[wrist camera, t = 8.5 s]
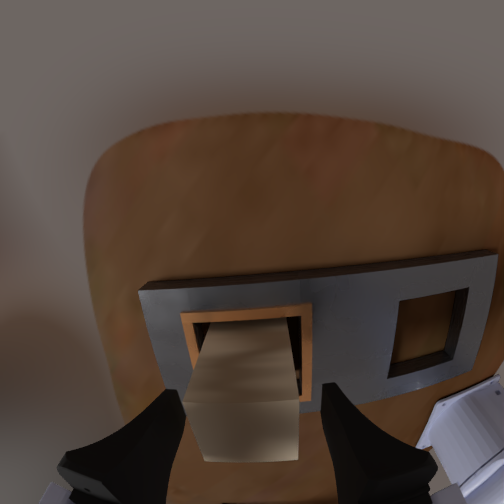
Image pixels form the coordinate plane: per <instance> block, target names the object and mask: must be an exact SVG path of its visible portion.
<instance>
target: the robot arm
mask: <svg viewBox="0 0 504 504" xmlns="http://www.w3.org/2000/svg"><path fill="white" fill-rule="evenodd" d="M499 379H500V375H499V374H497V375H495V376H493V377H491V378H490V379H488V380H486V381H483V382H481V383H479V384H477V385H475V386H473V387H471V388H468V389H466V390H464V391H462V392H459V393H457V394H454V395H452V396H450V397H447V398H444V399H442V400H439V401H438V402H437V403H436V404H435V406H434V409H433V411H432V414H431V416H430V418H429V420H428V423H427V425H426V427H425V429H424V431H423V433H422V435H421V438H420V440H419V442H418V443H417V445H416V448H415V447H412V446H410V445H408V444H406V443H403V442H401V441H400V440H398V439H396V438H394V437H392V436H391V435H389V434H387V433H386V432H384V431H383V430H381V429H380V428H379V427H377V426H376V425H375V424H374V423H372V422H371V421H370V420H369V419H368V418H367V417H365V416H364V415H363V414H362V413H361V412H360V411H359V410H358V409H357V408H356V407H355V406H354V404H353V403H352V402H351V401H350V400H349V399H348V398H347V397H346V395H345V394H344V393H343V392H342V390H341V389H340V388H339V386H338V385H337V383H335V382H331V383H324V384H322V397H321V411H320V412H321V418H322V425H323V430H324V433H325V437H326V440H327V444H328V447H329V451H330V454H331V458H332V461H333V466H334V471H335V478H336V485H337V493H338V503H339V504H504V388H503V387H502V386H501V385H500V384H499V383H498V382H499ZM185 420H186V414H185V411H184V409H183V406H182V403H181V400H180V397H179V394H178V391H177V390H176V389H165V390H164V391H163V392H162V393H161V394H160V395H159V396H158V397H157V398H156V399H155V400H154V401H153V402H152V403H151V404H150V405H149V406H148V407H147V408H146V409H145V410H144V411H143V412H141V413H140V414H139V415H138V416H137V417H136V418H134V419H133V420H132V421H131V422H129V423H128V424H127V425H125V426H124V427H123V428H121V429H120V430H118V431H116V432H115V433H113V434H111V435H110V436H108V437H106V438H104V439H102V440H100V441H98V442H96V443H93V444H90V445H88V446H85V447H82V448H79V449H76V450H71V451H67V452H66V453H65V455H64V456H63V458H62V459H61V461H60V463H59V464H58V466H57V470H58V472H59V474H60V475H61V476H62V477H63V478H64V479H65V480H66V481H67V482H68V483H69V484H70V485H71V486H72V487H73V488H74V489H73V491H72V492H71V491H69V490H68V489H66V488H64V487H62V486H60V485H58V484H56V483H54V482H51V483H50V484H49V486H48V488H47V489H46V491H45V493H44V494H43V496H42V498H41V500H40V501H39V503H38V504H166V496H167V489H168V483H169V477H170V472H171V468H172V464H173V461H174V458H175V455H176V452H177V450H178V447H179V444H180V441H181V438H182V435H183V431H184V426H185ZM431 445H432V446H433V448H434V450H435V452H436V454H437V456H438V458H439V460H440V462H441V464H442V465H443V467H444V469H445V471H446V473H447V475H448V477H449V480H450V482H451V484H452V485H450V486H448V487H447V488H444V489H442V490H440V491H438V492H436V493H434V494H433V495H431V496H430V495H429V493H428V492H429V491H430V487H429V485H428V483H429V482H430V481H431V479H432V478H433V477H434V475H435V474H436V472H437V470H438V466H437V464H436V462H435V460H434V459H433V457H432V456H431V455H430V453H429V452H427V451H424V450H421V449H423V448H426V447H429V446H431Z"/></svg>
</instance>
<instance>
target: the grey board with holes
mask: <svg viewBox="0 0 504 504" xmlns="http://www.w3.org/2000/svg"><path fill="white" fill-rule="evenodd" d="M497 261H498V254H497V253H494V252H491V251H489V250H486V249H485V250H478V251H471V252H464V253H456V254H448V255H441V256H433V257H424V258H416V259H408V260H399V261H390V262H381V263H372V264H363V265H353V266H344V267H334V268H323V269H313V270H302V271H291V272H280V273H268V274H256V275H244V276H231V277H217V278H203V279H189V280H173V281H157V282H147V283H146V284H145V285H144V286H143V287H141V288H140V289H139V290H138V293H139V297H140V301H141V305H142V310H143V314H144V317H145V321H146V325H147V329H148V332H149V336H150V339H151V343H152V346H153V350H154V353H155V356H156V360H157V363H158V366H159V369H160V372H161V375H162V378H163V381H164V384H165V387H166V389H176V390H177V391H178V394H179V397H180V400H181V403H182V406H183V409H184V411H185V408H184V405H183V399H184V396H185V393H186V390H187V387H188V384H189V382H190V379H191V376H192V373H193V370H194V368H195V365H196V362H197V359H198V356H199V354H200V351H201V348H202V345H203V342H204V336H203V331H202V326H201V322H222V321H240V320H256V319H269V318H281V317H292V316H298V329H299V380H296V381H297V387H298V394H299V413H307V412H315V411H321V397H322V384H324V383H331V382H335V383H337V385H338V386H339V388H340V389H341V390H342V392H343V393H344V394H345V395H346V397H347V398H348V399H349V400H350V401H351V402H352V403H353V404H354V405H358V404H363V403H367V402H372V401H376V400H380V399H385V398H389V397H393V396H396V395H400V394H404V393H407V392H411V391H414V390H417V389H421V388H424V387H427V386H430V385H433V384H436V383H439V382H442V381H444V380H447V379H450V378H453V377H455V376H458V375H460V374H463V373H465V372H468V371H470V370H472V367H473V365H474V362H475V359H476V356H477V353H478V350H479V346H480V343H481V340H482V336H483V333H484V329H485V325H486V321H487V317H488V313H489V308H490V304H491V299H492V294H493V288H494V282H495V276H496V269H497ZM454 290H456V295H455V301H454V307H453V312H452V317H451V322H450V327H449V331H448V336H447V340H446V344H445V348H444V351H441V352H437V353H434V354H430V355H427V356H423V357H420V358H416V359H412V360H408V361H404V362H400V363H396V364H392V365H390V361H391V356H392V350H393V344H394V338H395V331H396V324H397V316H398V308H399V301H401V300H407V299H413V298H418V297H424V296H429V295H434V294H439V293H444V292H449V291H454ZM185 414H186V411H185ZM186 416H187V414H186Z"/></svg>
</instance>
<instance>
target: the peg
mask: <svg viewBox="0 0 504 504" xmlns="http://www.w3.org/2000/svg"><path fill="white" fill-rule="evenodd" d="M183 405H184V408H185V411H186V414H187V417H188V419H189V422H190V425H191V428H192V430H193V433H194V436H195V438H196V441H197V443H198V446H199V448H200V451H201V453H202V456H203V458H204V460H205V461H213V462H272V461H287V460H298V440H299V394H298V387H297V381H296V374H295V368H294V362H293V356H292V350H291V343H290V337H289V331H288V326H287V320H286V317H281V318H269V319H256V320H240V321H222V322H211V323H210V326H209V329H208V331H207V334H206V337H205V340H204V342H203V345H202V348H201V351H200V354H199V356H198V359H197V362H196V365H195V368H194V370H193V373H192V376H191V379H190V382H189V384H188V387H187V390H186V393H185V396H184V399H183Z"/></svg>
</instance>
